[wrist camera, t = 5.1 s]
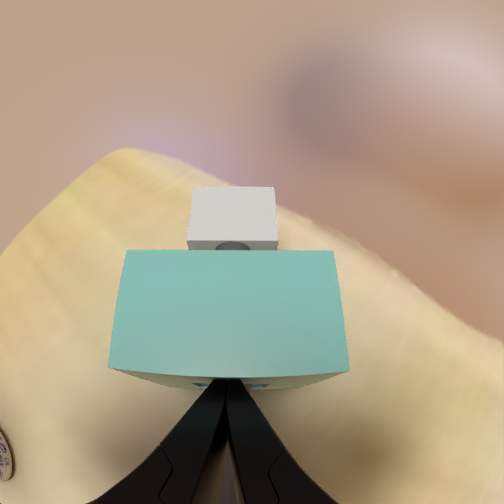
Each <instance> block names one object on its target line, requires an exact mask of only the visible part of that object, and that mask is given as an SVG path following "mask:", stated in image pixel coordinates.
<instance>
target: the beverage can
mask: <svg viewBox="0 0 504 504" xmlns="http://www.w3.org/2000/svg"><path fill="white" fill-rule="evenodd" d="M11 472H12V459H11V454H10V451H9V448H8V445H7V443H6V440H5V438H4V436H3V435H2V433H1V432H0V481H6V480H8V479H9V478H10V476H11Z"/></svg>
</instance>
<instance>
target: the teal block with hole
mask: <svg viewBox="0 0 504 504" xmlns="http://www.w3.org/2000/svg"><path fill="white" fill-rule="evenodd" d="M109 368H112V369H114V370H117V371H120V372H123V373H126V374H129V375H132V376H135V377H138V378H141V379H145V380H148V381H151V382H155V383H158V384H162V385H165V386H169V387H178V388H192V389H206V388H207V387H208V385H209V384H210V383H211V382H212V381H213V380H214V379H225V380H227V381H228V380H241V381H242V382H243V384H253V390H268V389H290V388H299V387H303V386H306V385H309V384H312V383H316V382H319V381H322V380H325V379H328V378H331V377H334V376H336V375H339V374H342V373H345V372H348V371H349V362H348V352H347V342H346V334H345V325H344V317H343V310H342V302H341V296H340V289H339V282H338V276H337V270H336V264H335V258H334V252H333V251H286V250H127V251H126V256H125V261H124V265H123V270H122V275H121V280H120V286H119V291H118V297H117V303H116V309H115V316H114V323H113V330H112V338H111V347H110V356H109Z"/></svg>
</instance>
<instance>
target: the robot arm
mask: <svg viewBox="0 0 504 504" xmlns="http://www.w3.org/2000/svg"><path fill="white" fill-rule="evenodd" d="M227 442H228V446H229V453H230V460H231V466H232V473H233V479H234V485H235V491H236V497H237V502H238V504H338V503H337V502H336V501H335V500H334V499H333V498H332V497H331V496H329V495H328V494H327V493H326V492H325V491H324V490H323V489H322V488H321V487H320V486H318V485H317V484H316V483H315V482H314V481H313V480H312V479H311V478H310V477H309V476H308V475H307V474H306V472H305V471H304V470H303V469H302V468H301V467H300V466H299V464H298V463H297V462H296V461H295V459H294V458H293V457H292V455H291V454H290V453H289V451H288V450H287V449H286V447H285V446H284V444H283V443H282V441H281V440H280V439H279V437H278V436H277V434H276V433H275V431H274V430H273V428H272V427H271V425H270V424H269V422H268V421H267V419H266V418H265V416H264V415H263V413H262V412H261V410H260V409H259V407H258V406H257V404H256V403H255V401H254V400H253V398H252V396H251V395H250V393H249V392H248V390H247V389H246V387H245V385H244V384H243V382H242V381H241V380H228V381H227V380H225V379H214V380H213V381H212V382H211V383H210V384H209V385H208V387H207V388H206V389H205V390H204V392H203V393H202V394H201V395H200V397H199V398H198V399H197V400H196V401H195V403H194V404H193V405H192V406H191V407H190V409H189V410H188V411H187V412H186V413H185V415H184V416H183V417H182V418H181V419H180V421H179V422H178V423H177V424H176V425H175V427H174V428H173V429H172V430H171V431H170V432H169V434H168V435H167V436H166V437H165V438H164V439H163V440H162V442H161V443H160V446H159V445H158V446H157V447H156V448H155V449H154V451H153V452H152V453H151V454H150V455H149V456H148V457H147V458H146V459H145V460H144V461H143V462H142V463H141V464H140V465H139V466H138V467H137V468H136V469H134V470H133V471H132V472H131V473H130V474H129V475H127V476H126V477H125V478H124V479H122V480H121V481H120V482H118V483H117V484H116V485H115V486H113V487H112V488H111V489H109V490H108V491H107V492H105V493H104V494H103V495H101V496H100V497H99V498H97V499H95V500H93V501H91V502H89V503H86V504H218V500H219V493H220V487H221V481H222V475H223V469H224V463H225V456H226V450H227ZM0 504H1V503H0Z"/></svg>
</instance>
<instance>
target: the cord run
mask: <svg viewBox="0 0 504 504" xmlns="http://www.w3.org/2000/svg"><path fill="white" fill-rule="evenodd" d="M187 244H188V247H189V250H277V245H278V228H277V216H276V204H275V193H274V187H194V191H193V197H192V204H191V211H190V218H189V225H188V233H187ZM244 385H245V387H246V389H247V390H248V392H249V393H250V395H251V396H252V398H253V384H244ZM218 504H238V502H237V497H236V491H235V485H234V479H233V473H232V466H231V460H230V453H229V446H228V442H227V450H226V456H225V463H224V469H223V475H222V481H221V487H220V493H219V500H218Z"/></svg>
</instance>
